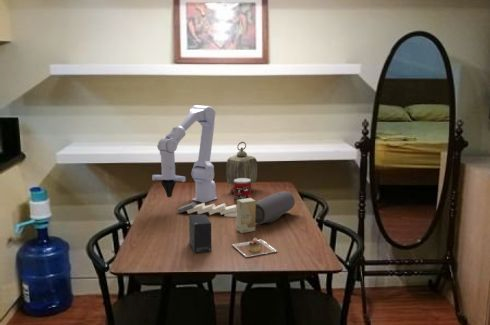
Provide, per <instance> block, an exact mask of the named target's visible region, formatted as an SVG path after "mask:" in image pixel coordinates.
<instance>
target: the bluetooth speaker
mask: <svg viewBox="0 0 490 325" xmlns="http://www.w3.org/2000/svg"><path fill="white" fill-rule="evenodd" d="M295 202H296V201H295V198H294V195H293V194H292V193H291V192H290V191H286V190H282V191H279V192H276V193H273V194H271V195H268V196H266V197H264V198H261V199H260V200H257V201H256V210H255V225H261V224H264V223H265V224H270V223H273V222H275V221H277V220H279V219H280V218H281V217H282V215H284V214H286V213H287V212H289V211H291V209H293V208H294V207H295V204H296V203H295Z"/></svg>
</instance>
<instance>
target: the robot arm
mask: <svg viewBox="0 0 490 325" xmlns="http://www.w3.org/2000/svg"><path fill="white" fill-rule="evenodd" d="M215 119H216V110H215V109H214V107H212V106H211V105H196V104H195V105H193V106H192V107H191V108H190V109H189V113H188V115H186V117H185V118H184V120H182V122H181V123H180V125H175V126H173V127H172V129H171V131H169V132H168V134H166V136H165V137H162V138H160V139H159V141H158V142H157V145H156V146H157V147H156V148H157V149H158V151H159V155H160V163H161V165H160V166H161V174H152V176H151V179H152V181H161V186H162V187H163V188H164V191H165V193H166V198H171V197H173V192H174V188H175V185H176V183H177V182H182V183H184V182H186V176H183V175H177V174H176V163H175V160H176V159H175V151H177V149H178V145H179V143H180V142H181V141H182V140H183V139H184V137H185V136H186V131H187V130H188V129H190V127H191V126H192V125H194V124H195V123H196V122H198V123H199V124H200V126H201V127H202V128H201V135H200V144H199V150H198V158H197V160H196V162H194V163H193V167H192V169H191V177H192V179H193V182H194V184H195V186H194V188H195V197H194V198H191V201H193V202H200V203H201V204H202V203H208V202H210V201H213V200H217V199H218V197H217V188H216V186H217V185H216V183H215V180H213V179H214V178H215V169H214V168H215V166H214V165H213V163H212V162H211V155H212V146H213V140H214V130H215Z"/></svg>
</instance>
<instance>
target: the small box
mask: <svg viewBox="0 0 490 325" xmlns="http://www.w3.org/2000/svg"><path fill="white" fill-rule="evenodd" d="M188 225H189V226H188V228H189V230H188V232H189V233H188V235H189V237H188V238H189V239H188V242H189V243H188V244H189V246H190V247H191V249H192V251H193V253H194V254H200V253H208V252H212V251H213V250H212V247H213V246H212V222H211V220H210V219H209V218H208V217H207V215H206V214H204V213H202V214H190V215H189V214H188Z"/></svg>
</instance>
